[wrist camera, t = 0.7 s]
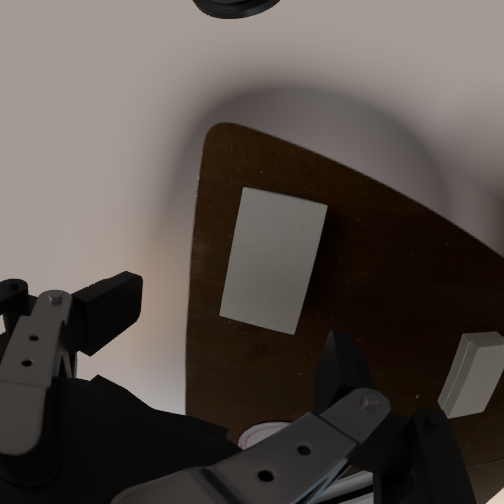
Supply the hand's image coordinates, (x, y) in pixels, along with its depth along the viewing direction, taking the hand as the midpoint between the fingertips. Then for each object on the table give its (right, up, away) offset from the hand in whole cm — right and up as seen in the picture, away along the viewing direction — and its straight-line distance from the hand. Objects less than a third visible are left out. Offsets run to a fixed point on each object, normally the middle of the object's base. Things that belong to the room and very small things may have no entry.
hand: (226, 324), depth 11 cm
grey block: (+28, -11, +15) cm, 33 cm away
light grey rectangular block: (+3, +2, +12) cm, 13 cm away
